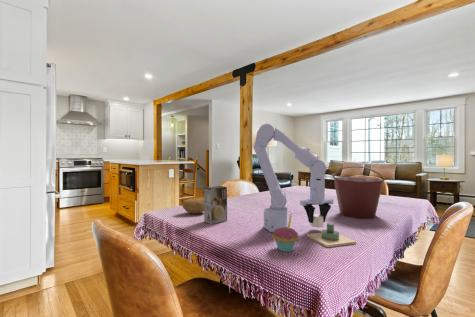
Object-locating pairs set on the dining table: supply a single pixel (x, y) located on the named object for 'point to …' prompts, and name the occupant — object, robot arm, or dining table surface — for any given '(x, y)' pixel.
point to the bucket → (358, 195)
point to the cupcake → (285, 237)
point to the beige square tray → (330, 237)
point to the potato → (194, 205)
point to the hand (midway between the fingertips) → (316, 222)
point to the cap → (317, 221)
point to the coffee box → (215, 204)
